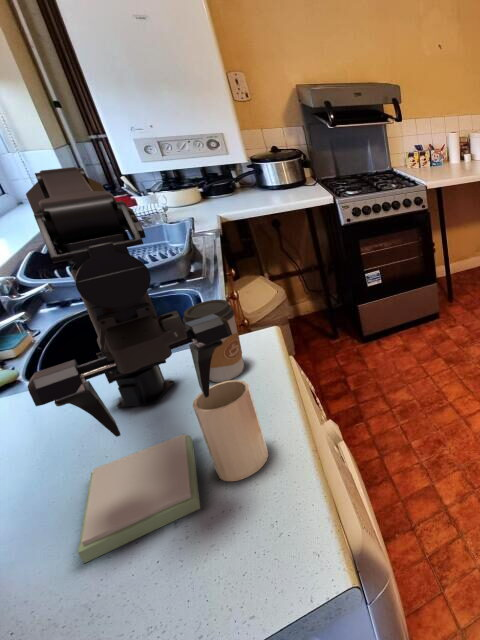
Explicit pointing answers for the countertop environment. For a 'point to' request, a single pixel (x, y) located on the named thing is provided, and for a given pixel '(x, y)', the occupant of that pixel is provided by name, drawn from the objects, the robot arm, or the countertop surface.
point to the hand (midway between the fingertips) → (165, 414)
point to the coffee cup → (229, 354)
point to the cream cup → (231, 430)
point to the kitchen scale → (138, 496)
